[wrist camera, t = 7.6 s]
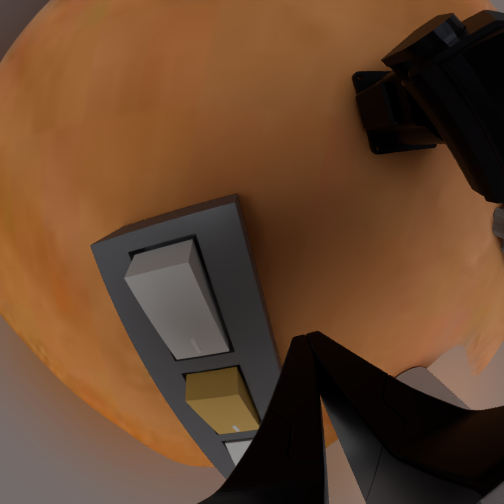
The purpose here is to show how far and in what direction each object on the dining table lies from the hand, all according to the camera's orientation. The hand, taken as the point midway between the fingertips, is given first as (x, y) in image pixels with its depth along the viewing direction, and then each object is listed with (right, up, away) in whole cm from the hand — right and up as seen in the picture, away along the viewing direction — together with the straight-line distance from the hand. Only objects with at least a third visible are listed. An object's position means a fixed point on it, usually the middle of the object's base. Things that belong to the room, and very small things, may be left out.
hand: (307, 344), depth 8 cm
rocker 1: (-6, 0, +8) cm, 10 cm away
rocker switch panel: (-4, -7, +15) cm, 17 cm away
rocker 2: (-4, -8, +11) cm, 14 cm away
